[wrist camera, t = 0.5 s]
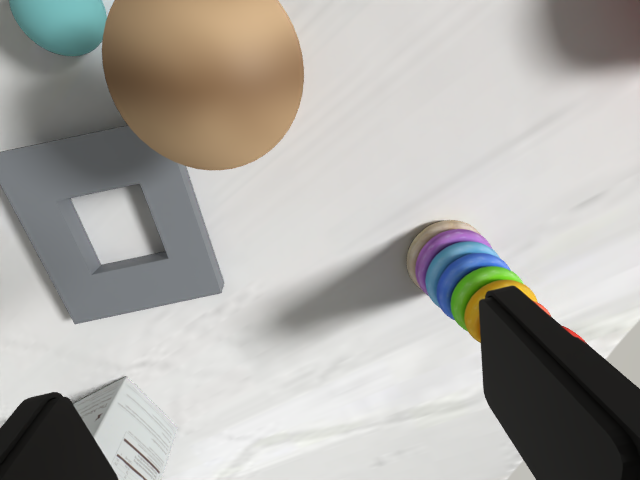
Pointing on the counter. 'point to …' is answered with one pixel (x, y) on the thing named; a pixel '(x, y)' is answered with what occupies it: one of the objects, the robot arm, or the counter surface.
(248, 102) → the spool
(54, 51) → the teal ball
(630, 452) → the robot arm
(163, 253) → the square hole board
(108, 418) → the supplement box
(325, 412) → the counter surface
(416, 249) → the stacking toy
